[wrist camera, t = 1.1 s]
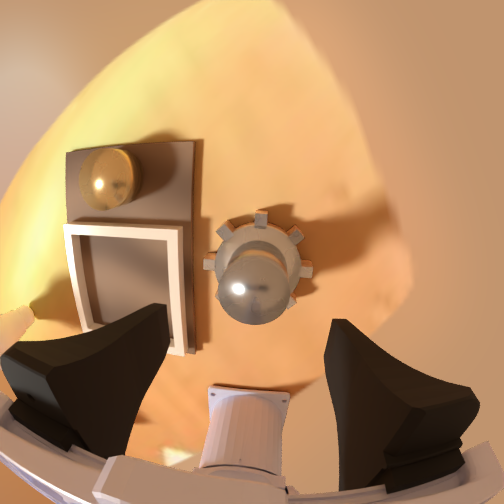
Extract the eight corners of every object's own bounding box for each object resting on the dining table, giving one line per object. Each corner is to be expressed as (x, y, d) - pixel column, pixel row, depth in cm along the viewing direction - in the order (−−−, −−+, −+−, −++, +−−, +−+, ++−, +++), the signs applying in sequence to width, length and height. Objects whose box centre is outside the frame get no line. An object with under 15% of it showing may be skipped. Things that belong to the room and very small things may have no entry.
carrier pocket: (188, 348, 23) (184, 356, 21) (89, 327, 23) (83, 333, 22) (182, 226, 19) (177, 229, 18) (71, 221, 20) (63, 224, 19)
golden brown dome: (143, 205, 19) (127, 211, 17) (97, 205, 19) (79, 210, 17) (144, 147, 18) (128, 145, 15) (97, 151, 18) (79, 151, 16)
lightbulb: (52, 316, 24) (-8, 368, 14) (42, 340, 26) (-8, 388, 15) (22, 278, 23) (-42, 318, 13) (14, 306, 25) (-39, 346, 14)
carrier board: (196, 351, 23) (195, 354, 23) (88, 329, 24) (86, 331, 23) (195, 142, 18) (193, 141, 18) (69, 152, 19) (66, 152, 18)
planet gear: (303, 310, 21) (311, 352, 16) (208, 302, 22) (190, 341, 16) (315, 214, 19) (331, 232, 14) (209, 207, 19) (185, 221, 14)
